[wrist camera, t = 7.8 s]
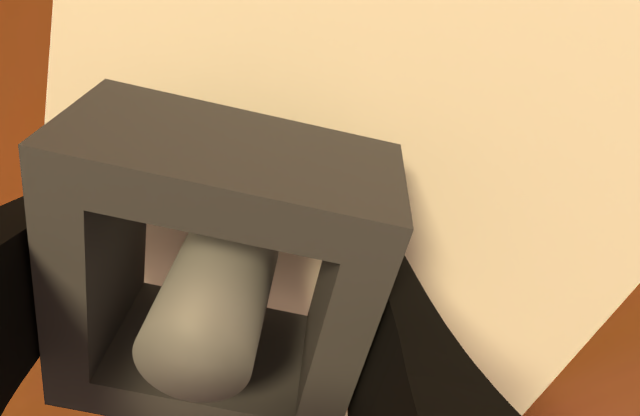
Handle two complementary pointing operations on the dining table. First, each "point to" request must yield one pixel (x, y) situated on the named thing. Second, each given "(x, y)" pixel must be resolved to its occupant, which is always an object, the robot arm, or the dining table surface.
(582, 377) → the dining table surface
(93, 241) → the grey square frame
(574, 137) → the shelf board
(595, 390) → the dining table surface
